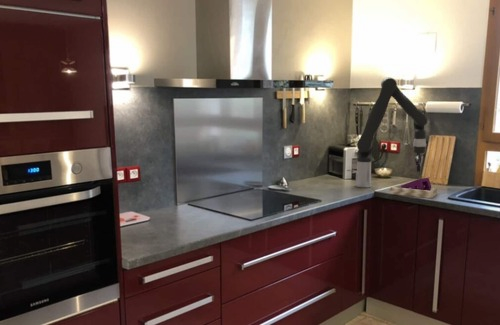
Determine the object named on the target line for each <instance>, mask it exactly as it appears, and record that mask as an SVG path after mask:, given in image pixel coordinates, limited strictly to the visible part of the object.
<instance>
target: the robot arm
mask: <svg viewBox="0 0 500 325" xmlns="http://www.w3.org/2000/svg"><path fill="white" fill-rule="evenodd" d="M380 86H381V89H380V92H379V95H378V97H377V99H376V101H375V102H374V104H373V106H372V108H371V109H370V112H369V114H368V117H367V120H366V122H365V126H364V129H363V132H362V134H361V136H360V138H359V140H358V141H357V144H356V147H357V149H358V152H357V153H358V154H357V161H356V162H357V163H356V172H355V187H358V188H370V187H371V185H372V184H371V180H372V178H371V177H372V158H373V139H374V137H375V134H376V132H377V131H378V129H379V127H380V126H381V124H382V122H383V120H384V116H386V115H385V114H386V112H387V109H388V107H389V106H388V105H389V103H390V101H391V98H393V100H394V101H396V103H398V105H399V106H400V108H401V109H402V110H403V111H404V112H405V113H406V115H408V116H409V117H411V118H412V120H413V131H414V133H413V149H412V150H413V153H415V154H416V155H415V159H414V160H415V166H416V172H418V173H419V172H421V171H422V165H423V160H424V156H423V154H424V153H425V154H426V152H427V151H426V150H427V149H426V148H427V141H426V138H427V137H426V136H427V132H426V130H425V126H426V125H427V124H428V118H427V117H426V115H425V114H424V113H423V112H422V111H421V110H419V109H418V107H417V106H416V105H415V104H414V103H413V102H412V100H411V99H409V98H408V96H406V95H405V94H404V93H403V92H402V91H401V89H400V88H399V86H398V83H397V80H396V79H395V78H393V77H385V78H383V79H382V80H381V82H380Z"/></svg>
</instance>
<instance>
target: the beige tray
mask: <svg viewBox="0 0 500 325" xmlns="http://www.w3.org/2000/svg"><path fill="white" fill-rule="evenodd" d="M437 189H438V187H432V188H431V190H430V191H427V190H416V189H411V188H407V189H406V188H401V187H395V186H394V187H393V186H391V187H390V195H397V196H398V195H399V196H405V197H406V196H407V197H418V198H424V199H425V198H428V199H433V198H434V197H435V196H437V194H438V190H437Z"/></svg>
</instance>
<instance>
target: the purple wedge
mask: <svg viewBox="0 0 500 325" xmlns="http://www.w3.org/2000/svg"><path fill="white" fill-rule="evenodd" d="M400 188H406V189H416V190H427V191H431V190H432V185H431V181H430V178H429V177H424V178H418V179H415V180H413V181H409V182H408V183H406V184H405V183H404V184H402V185H400Z"/></svg>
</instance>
